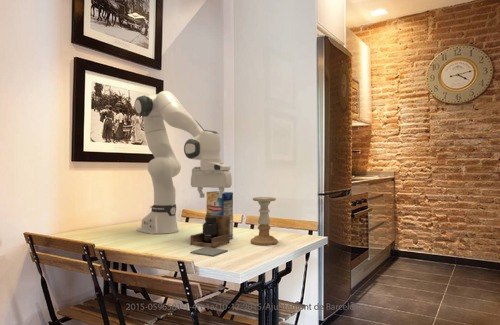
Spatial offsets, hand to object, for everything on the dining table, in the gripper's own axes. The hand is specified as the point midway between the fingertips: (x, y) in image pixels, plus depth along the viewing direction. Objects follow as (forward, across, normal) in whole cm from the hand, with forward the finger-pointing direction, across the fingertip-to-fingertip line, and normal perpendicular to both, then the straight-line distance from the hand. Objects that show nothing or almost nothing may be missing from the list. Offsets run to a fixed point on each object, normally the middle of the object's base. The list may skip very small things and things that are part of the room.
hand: (210, 197), depth 160 cm
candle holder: (+21, +18, +15) cm, 32 cm away
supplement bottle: (+21, 0, 0) cm, 21 cm away
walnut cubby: (+20, 0, 0) cm, 20 cm away
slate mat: (+20, +8, -13) cm, 26 cm away
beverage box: (+21, -4, +13) cm, 25 cm away
